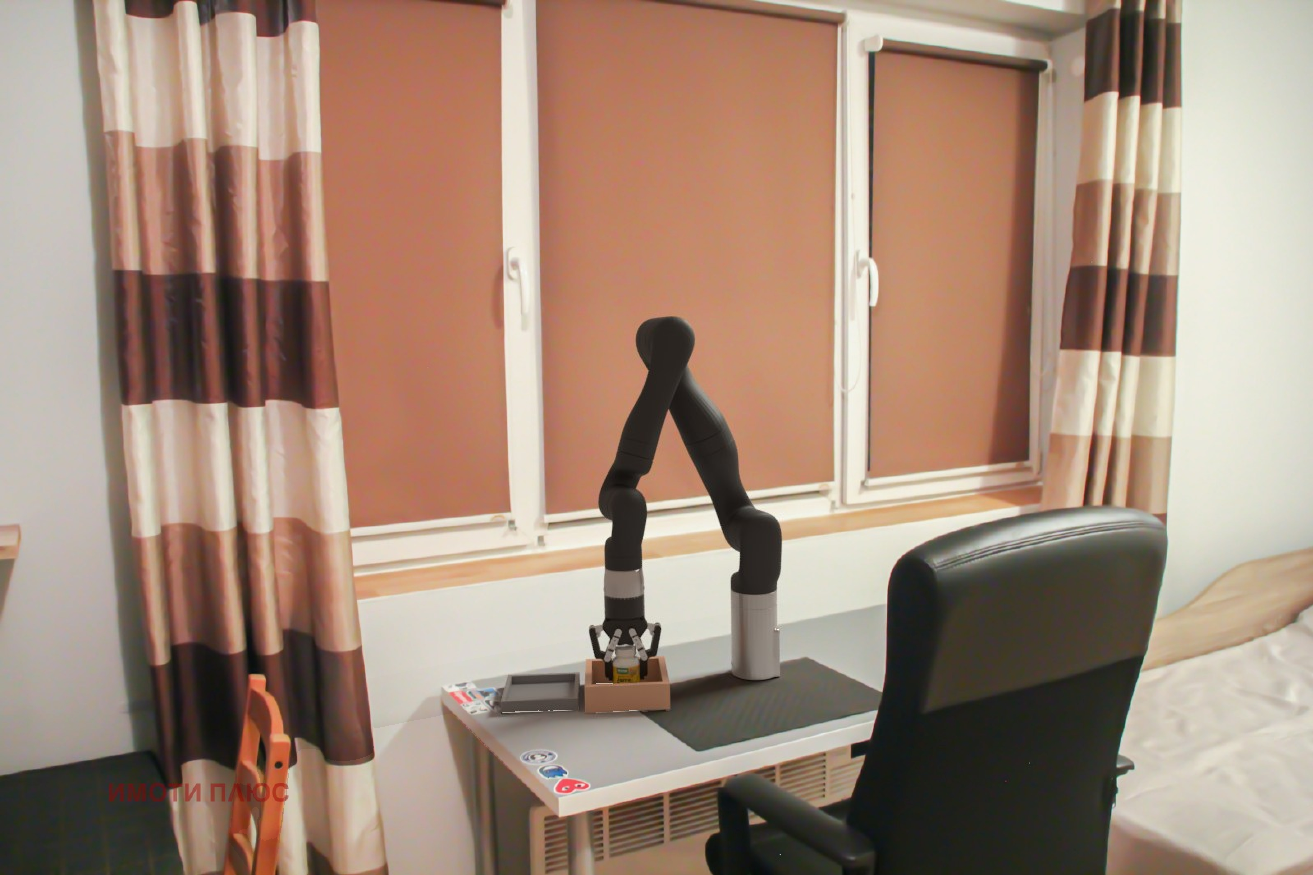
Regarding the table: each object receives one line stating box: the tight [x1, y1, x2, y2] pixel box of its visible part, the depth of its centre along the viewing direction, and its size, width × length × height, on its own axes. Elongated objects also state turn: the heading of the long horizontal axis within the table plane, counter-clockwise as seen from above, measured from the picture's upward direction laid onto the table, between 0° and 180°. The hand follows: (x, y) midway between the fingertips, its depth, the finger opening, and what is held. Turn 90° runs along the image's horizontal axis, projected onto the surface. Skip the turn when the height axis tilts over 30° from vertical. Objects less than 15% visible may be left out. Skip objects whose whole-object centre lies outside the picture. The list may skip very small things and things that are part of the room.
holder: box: [584, 655, 671, 714], centre depth 181 cm, size 15×15×5 cm
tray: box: [500, 671, 581, 713], centre depth 181 cm, size 14×14×2 cm
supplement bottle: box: [612, 644, 641, 684], centre depth 180 cm, size 5×5×10 cm
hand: (626, 678), depth 181 cm, fingers closed on supplement bottle, 5 cm apart
